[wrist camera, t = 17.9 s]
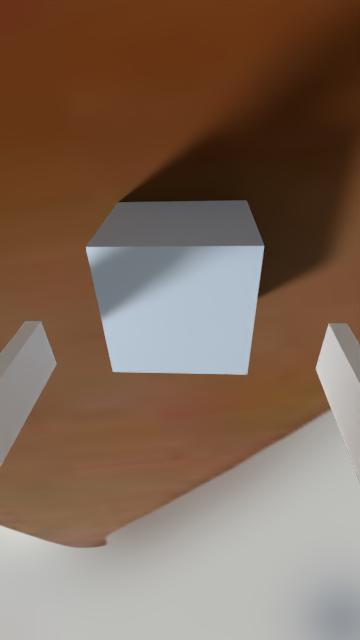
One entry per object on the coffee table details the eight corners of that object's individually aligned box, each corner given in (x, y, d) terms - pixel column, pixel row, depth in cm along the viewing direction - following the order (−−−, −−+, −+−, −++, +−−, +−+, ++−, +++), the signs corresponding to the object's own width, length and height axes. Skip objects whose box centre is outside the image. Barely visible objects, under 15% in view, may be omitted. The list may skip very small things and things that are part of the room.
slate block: (133, 307, 25) (112, 371, 19) (118, 201, 20) (85, 246, 14) (236, 307, 24) (247, 374, 19) (246, 199, 20) (264, 245, 14)
